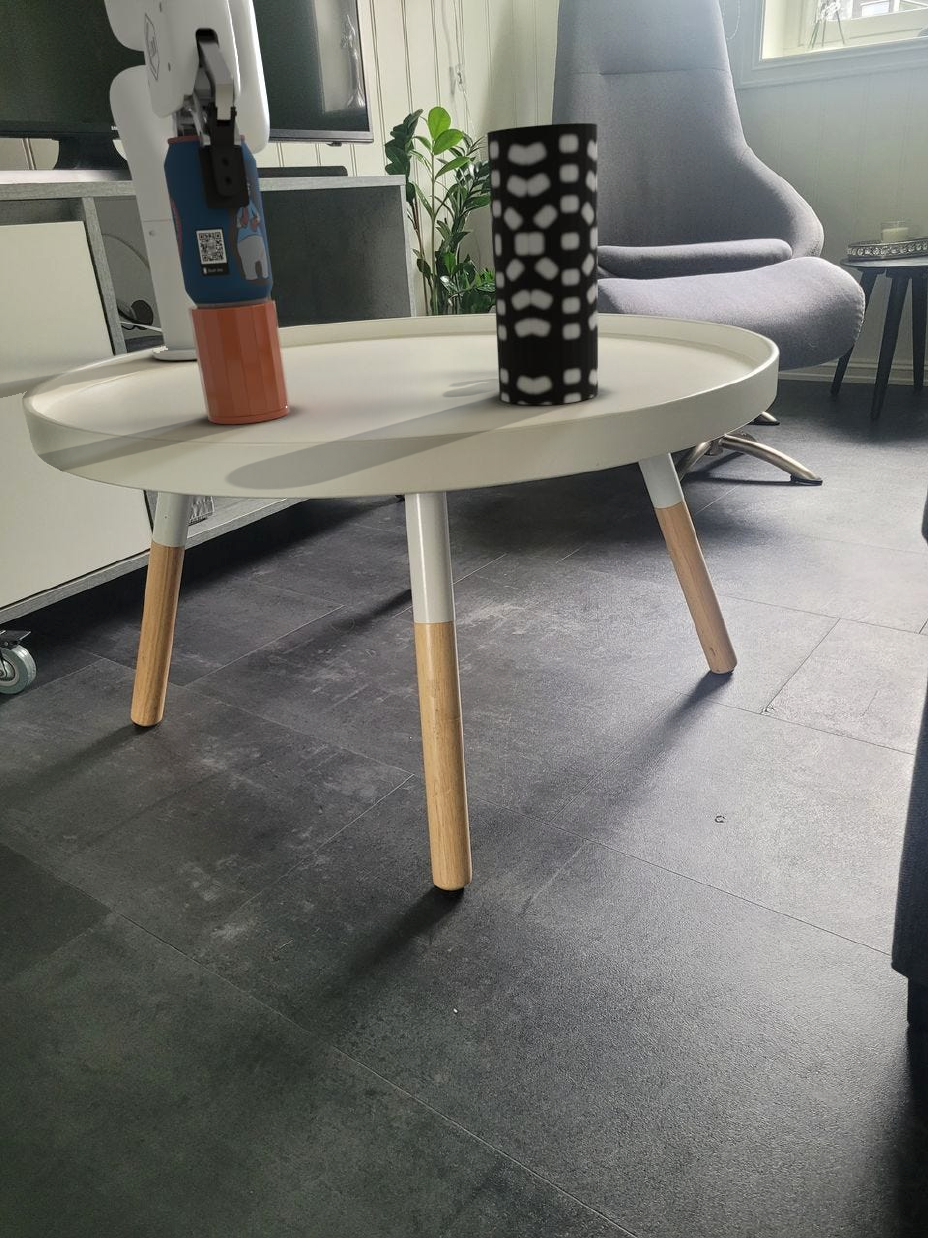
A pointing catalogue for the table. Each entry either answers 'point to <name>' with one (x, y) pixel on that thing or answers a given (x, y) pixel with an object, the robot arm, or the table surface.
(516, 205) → the spotted tube
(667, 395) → the table surface
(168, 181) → the soda can
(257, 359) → the coffee cup
